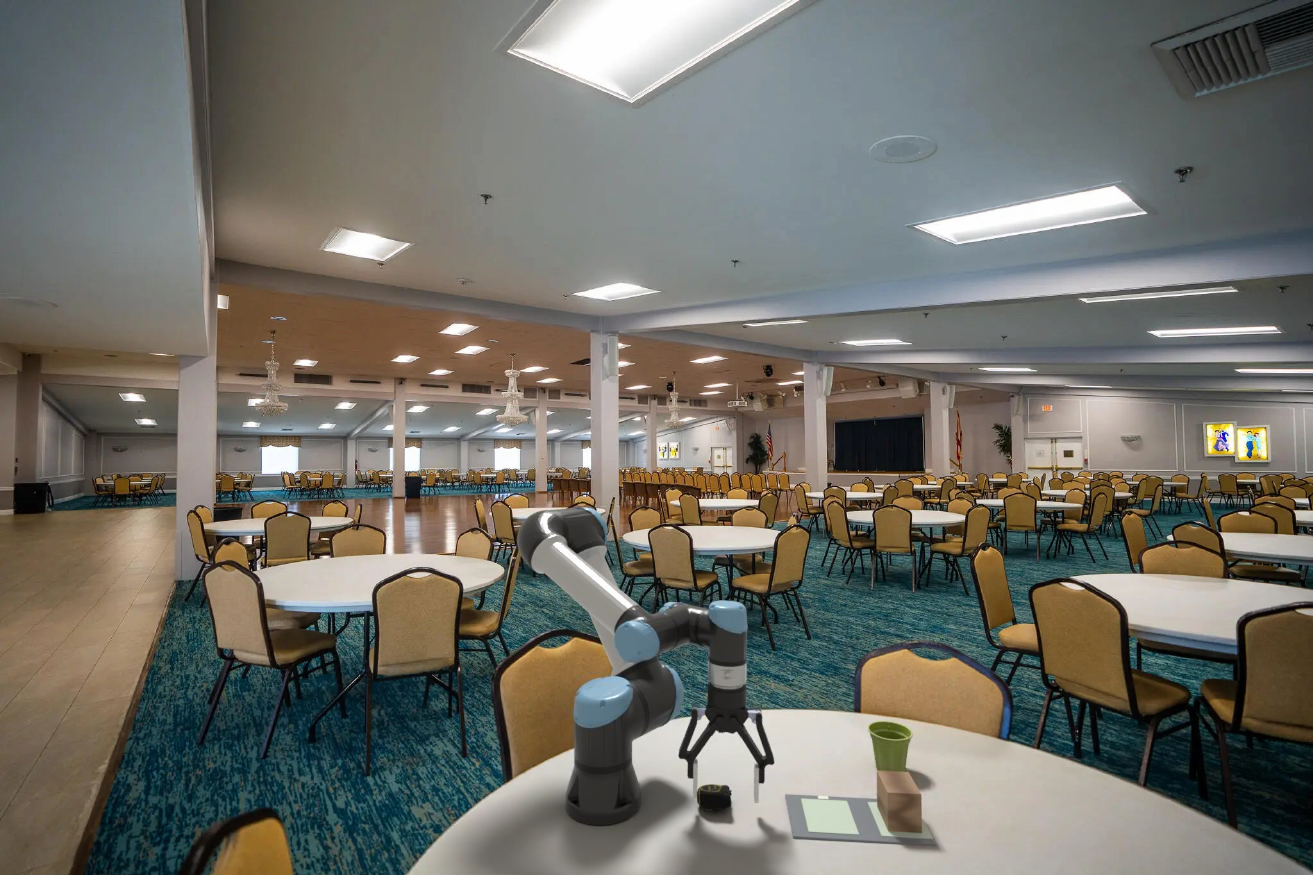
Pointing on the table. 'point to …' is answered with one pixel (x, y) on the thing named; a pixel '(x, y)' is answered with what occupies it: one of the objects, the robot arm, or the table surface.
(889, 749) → the plant pot
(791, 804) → the grey flat panel
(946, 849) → the table surface
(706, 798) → the tape measure
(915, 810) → the walnut block
